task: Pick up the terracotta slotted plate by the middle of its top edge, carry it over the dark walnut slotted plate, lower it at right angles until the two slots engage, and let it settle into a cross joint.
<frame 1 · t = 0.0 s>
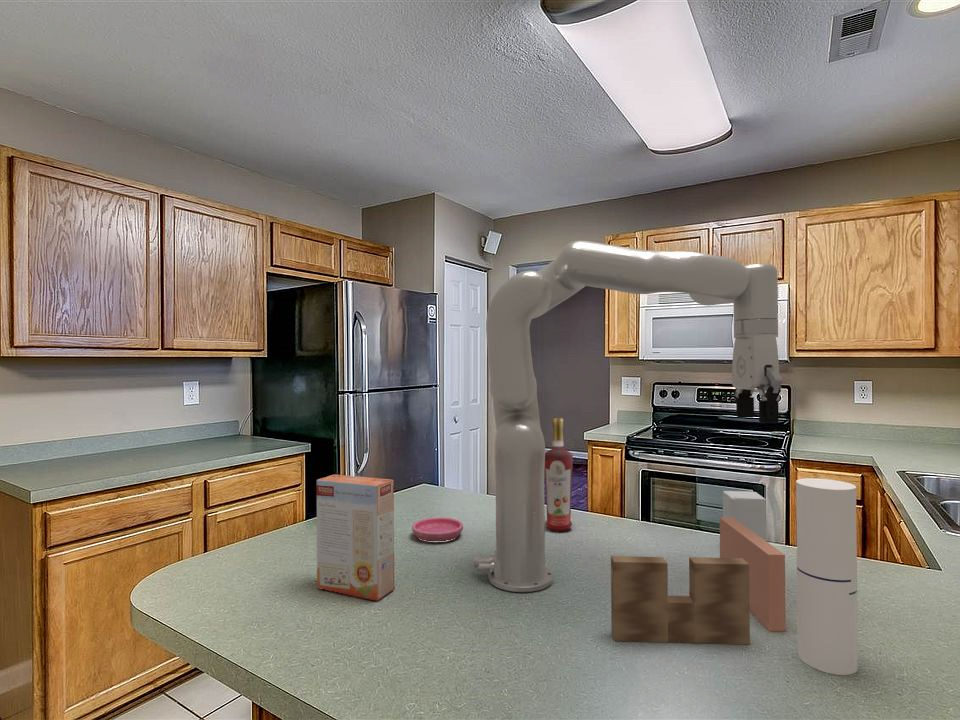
hand: (756, 419, 101), 31 cm above the countertop, tool pointing down, fingers open, 9 cm apart
terracotta slotted plate: (749, 602, 94), on the countertop
cylindrical container: (827, 661, 75), on the countertop
saucer: (437, 538, 130), on the countertop
liquor: (558, 529, 135), on the countertop
supplement box: (744, 552, 119), on the countertop
walnut slotted plate: (679, 638, 82), on the countertop
cracker box: (355, 590, 100), on the countertop
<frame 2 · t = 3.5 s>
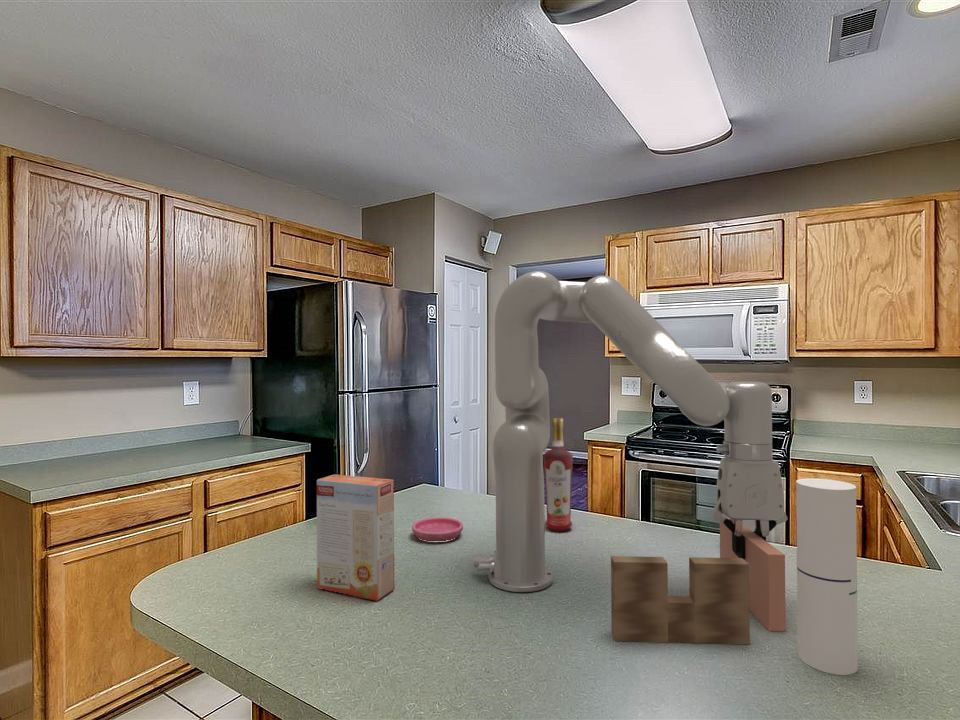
hand: (749, 555, 94), 8 cm above the countertop, tool pointing down, fingers closed on terracotta slotted plate, 2 cm apart
terracotta slotted plate: (749, 602, 94), on the countertop, touching gripper
everything else where it was.
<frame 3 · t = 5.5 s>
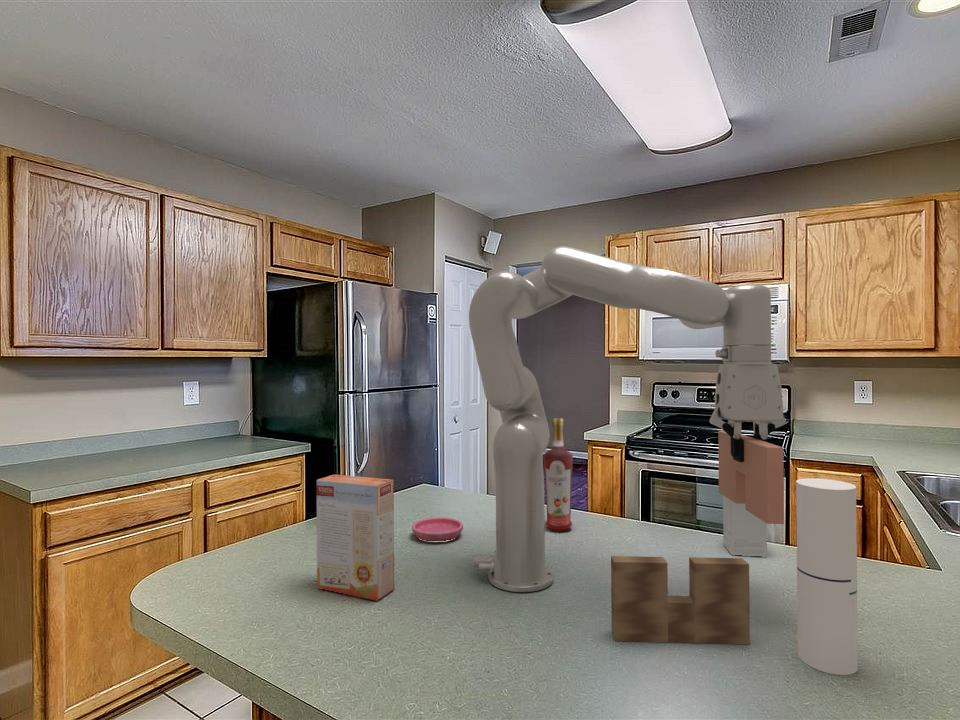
hand: (747, 460, 94), 25 cm above the countertop, tool pointing down, fingers closed on terracotta slotted plate, 2 cm apart
terracotta slotted plate: (747, 506, 94), point 17 cm above the countertop, touching gripper
everything else where it was.
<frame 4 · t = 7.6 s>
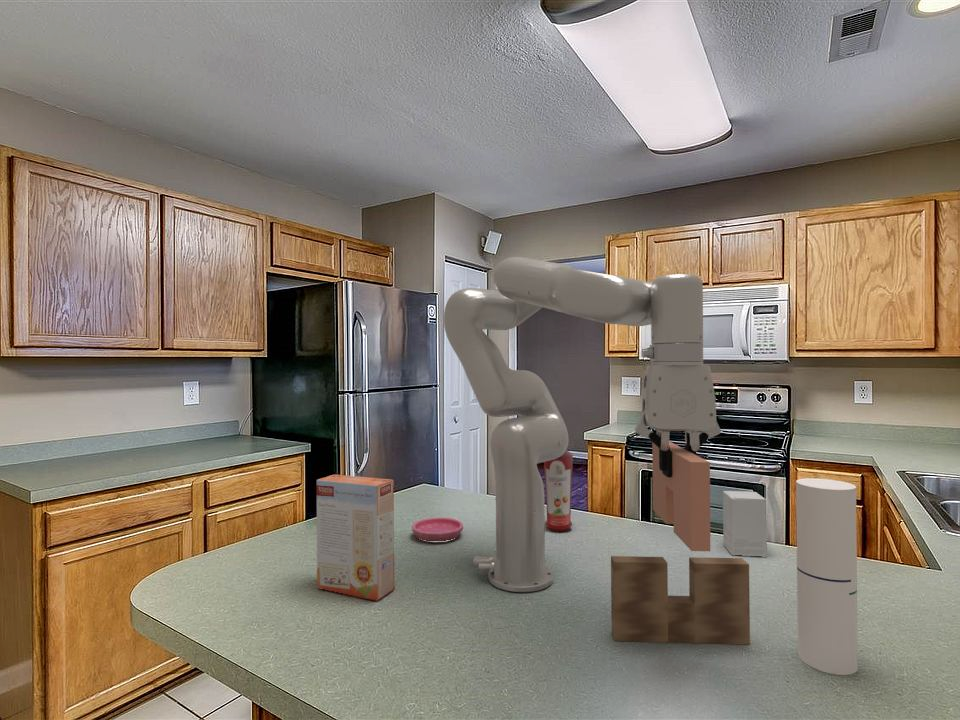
hand: (677, 474, 82), 25 cm above the countertop, tool pointing down, fingers closed on terracotta slotted plate, 2 cm apart
terracotta slotted plate: (678, 527, 82), point 17 cm above the countertop, touching gripper
everything else where it was.
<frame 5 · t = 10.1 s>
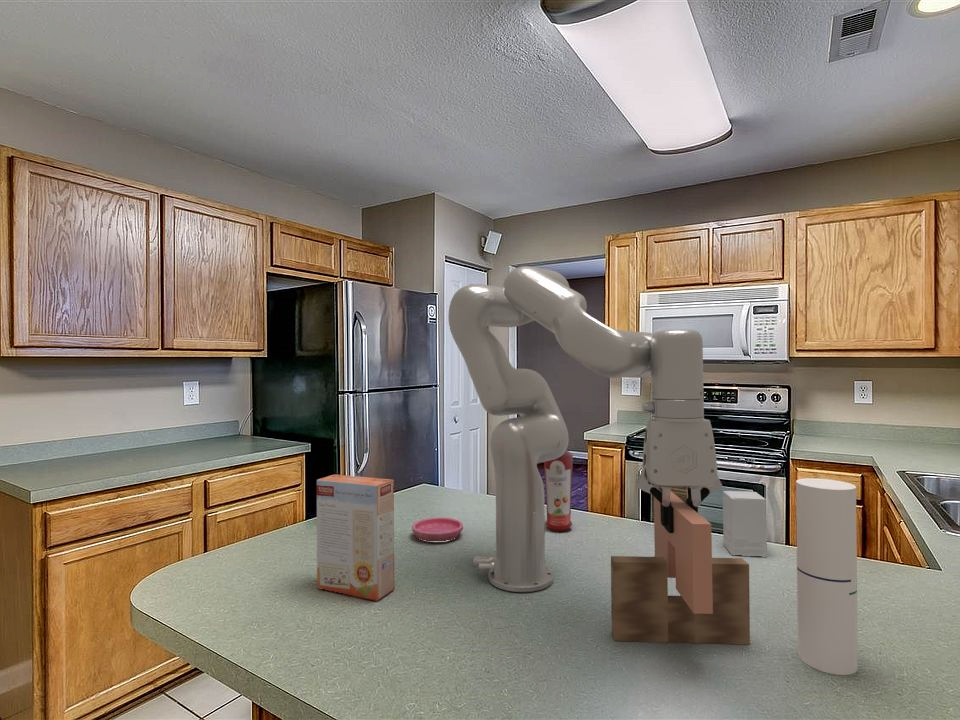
hand: (679, 529, 82), 17 cm above the countertop, tool pointing down, fingers closed on terracotta slotted plate, 2 cm apart
terracotta slotted plate: (680, 583, 82), point 9 cm above the countertop, touching gripper
everything else where it was.
when the fingers open (13 cm above the countertop, at t = 11.9 s): terracotta slotted plate drops 5 cm, resting on walnut slotted plate.
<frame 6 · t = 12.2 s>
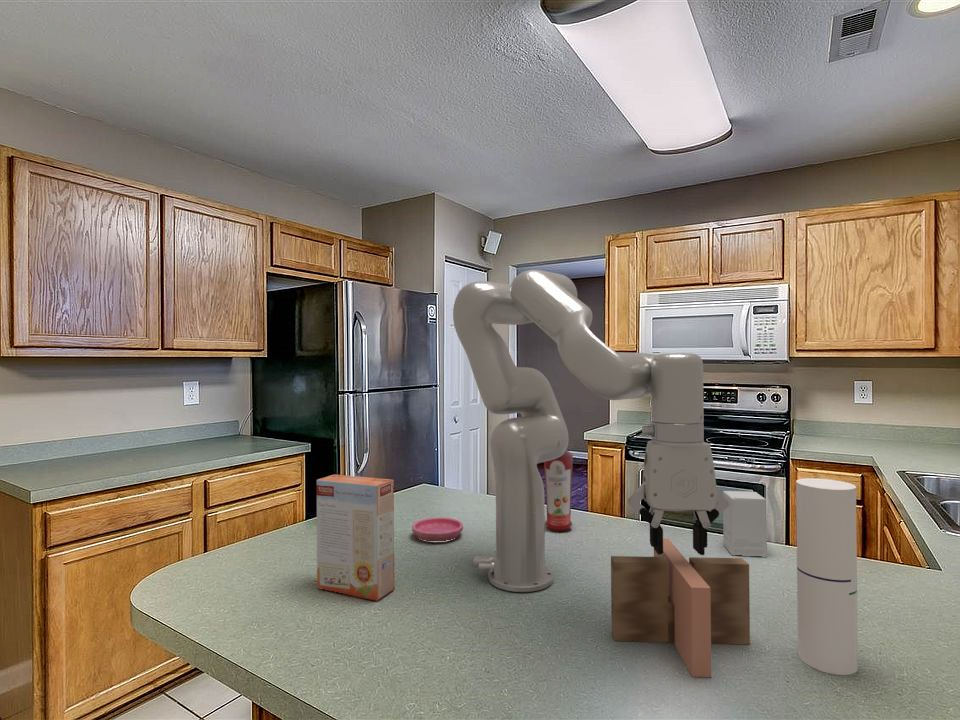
hand: (678, 550, 82), 13 cm above the countertop, tool pointing down, fingers open, 5 cm apart
terracotta slotted plate: (679, 638, 82), resting on walnut slotted plate
everything else where it was.
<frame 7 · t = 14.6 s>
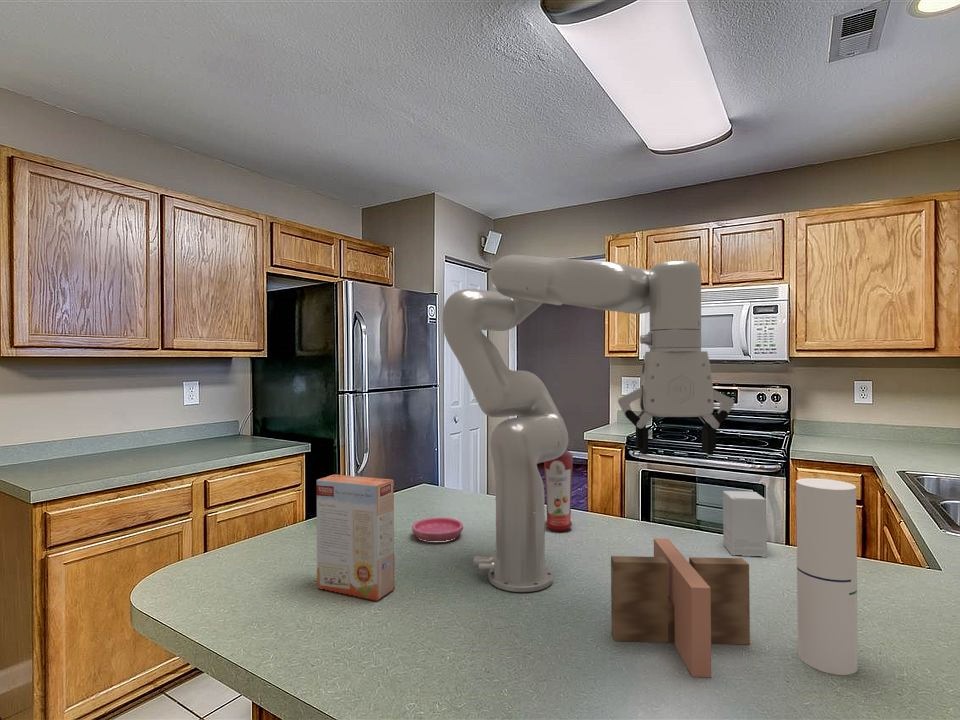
hand: (675, 453, 82), 28 cm above the countertop, tool pointing down, fingers open, 9 cm apart
nothing on the countertop moved.
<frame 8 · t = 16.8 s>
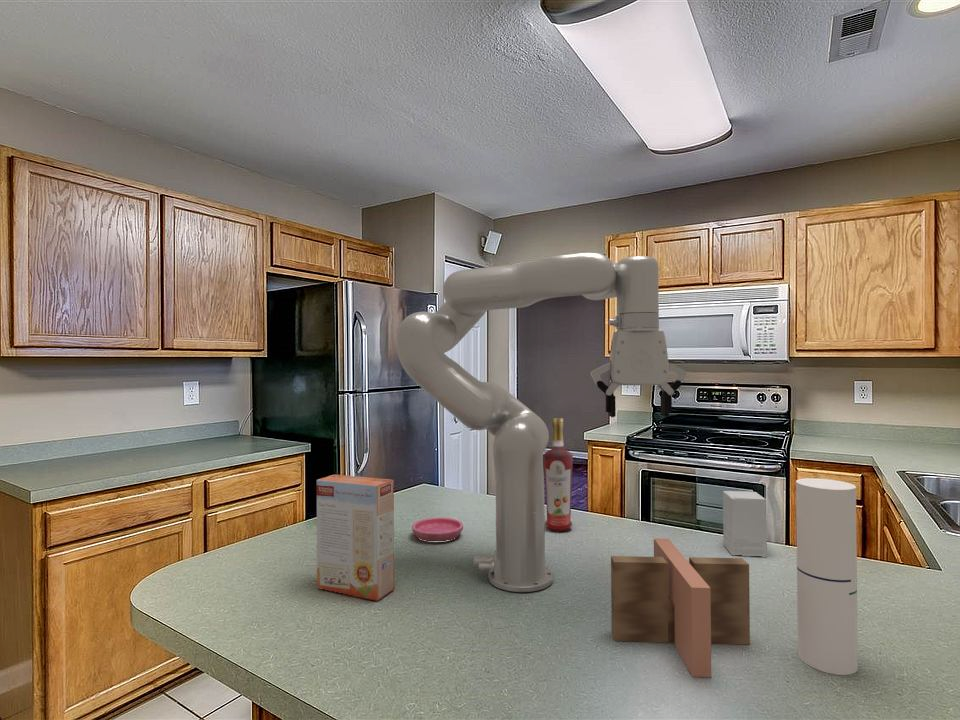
hand: (638, 416, 99), 32 cm above the countertop, tool pointing down, fingers open, 9 cm apart
nothing on the countertop moved.
at the end: terracotta slotted plate 0.0 cm off-centre on the walnut slotted plate, point 0.0 cm above the walnut slotted plate's base; terracotta slotted plate tilted 0°; the gripper is holding nothing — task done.
